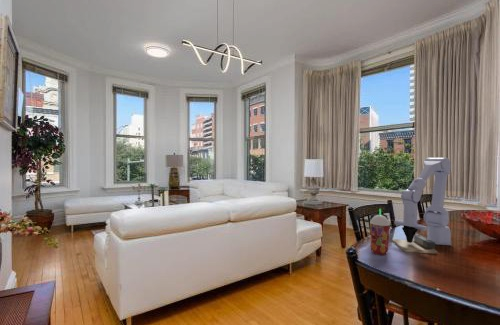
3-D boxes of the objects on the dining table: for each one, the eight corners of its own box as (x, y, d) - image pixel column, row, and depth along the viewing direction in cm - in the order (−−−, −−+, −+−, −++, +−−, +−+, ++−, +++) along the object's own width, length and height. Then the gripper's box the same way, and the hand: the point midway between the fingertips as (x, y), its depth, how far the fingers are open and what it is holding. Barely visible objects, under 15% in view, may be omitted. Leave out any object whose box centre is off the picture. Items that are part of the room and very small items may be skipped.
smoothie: (387, 251, 124) (388, 208, 123) (391, 257, 116) (392, 211, 116) (368, 249, 126) (369, 206, 126) (370, 254, 118) (371, 209, 118)
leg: (412, 240, 136) (412, 233, 136) (420, 240, 136) (420, 234, 136) (426, 248, 124) (426, 241, 124) (434, 248, 123) (435, 241, 123)
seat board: (421, 243, 137) (421, 240, 137) (437, 253, 121) (437, 250, 121) (391, 241, 140) (391, 238, 140) (403, 251, 124) (403, 248, 124)
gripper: (391, 212, 135) (390, 239, 135) (421, 218, 122) (420, 247, 122) (399, 211, 138) (398, 237, 139) (429, 216, 126) (429, 245, 126)
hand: (409, 242), depth 131 cm, fingers closed
